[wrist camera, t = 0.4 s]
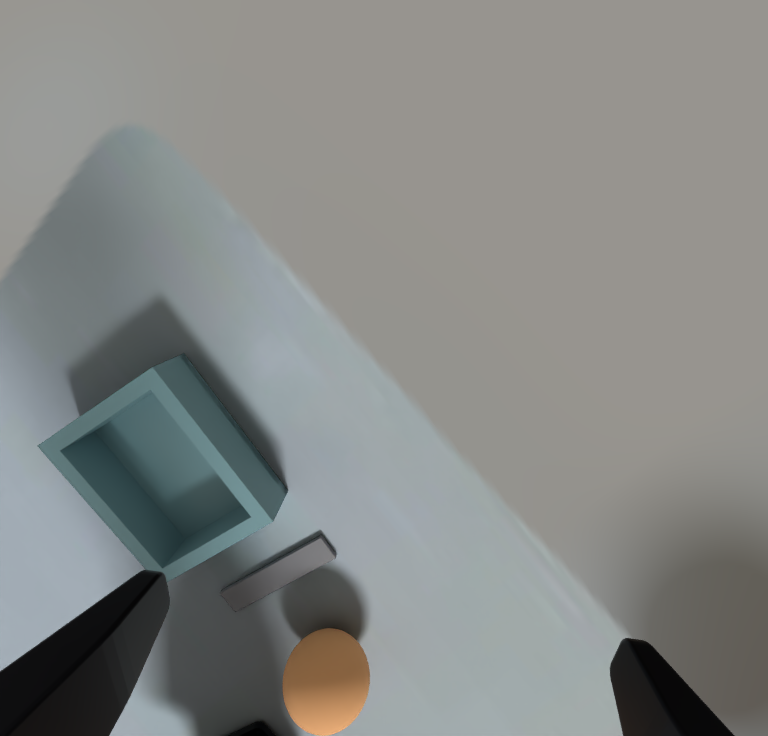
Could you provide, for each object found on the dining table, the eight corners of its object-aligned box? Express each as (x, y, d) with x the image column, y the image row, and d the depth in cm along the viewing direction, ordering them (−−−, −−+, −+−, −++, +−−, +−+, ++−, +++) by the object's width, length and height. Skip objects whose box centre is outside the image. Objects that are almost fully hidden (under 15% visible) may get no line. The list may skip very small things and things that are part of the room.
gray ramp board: (237, 608, 27) (235, 612, 26) (221, 589, 26) (219, 593, 26) (336, 554, 26) (335, 558, 25) (321, 534, 25) (320, 538, 25)
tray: (187, 549, 26) (160, 586, 23) (81, 423, 24) (37, 445, 21) (288, 490, 25) (272, 521, 22) (183, 353, 23) (152, 366, 20)
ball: (323, 683, 28) (307, 772, 23) (279, 629, 27) (252, 710, 22) (387, 652, 27) (384, 737, 22) (343, 596, 26) (330, 672, 21)
